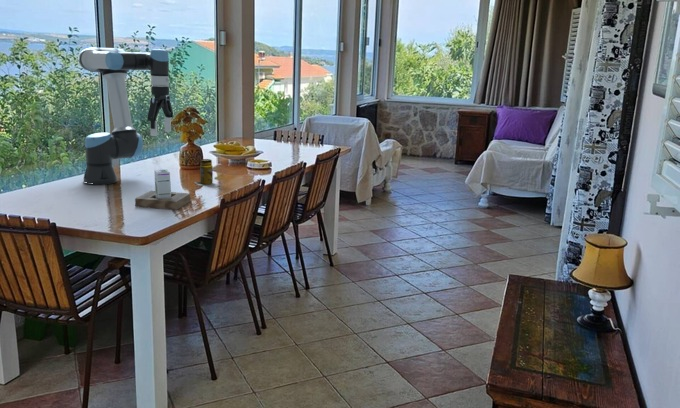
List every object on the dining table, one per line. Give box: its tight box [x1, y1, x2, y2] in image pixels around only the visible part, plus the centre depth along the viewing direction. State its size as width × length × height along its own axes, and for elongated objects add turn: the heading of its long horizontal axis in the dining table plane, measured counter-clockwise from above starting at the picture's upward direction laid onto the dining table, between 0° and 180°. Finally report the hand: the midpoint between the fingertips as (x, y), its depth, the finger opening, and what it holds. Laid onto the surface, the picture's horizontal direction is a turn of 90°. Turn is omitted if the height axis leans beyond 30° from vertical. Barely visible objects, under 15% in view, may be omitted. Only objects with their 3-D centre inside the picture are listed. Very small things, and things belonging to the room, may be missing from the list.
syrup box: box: [154, 169, 172, 199], centre depth 252 cm, size 6×6×14 cm
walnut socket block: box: [134, 190, 191, 211], centre depth 253 cm, size 18×15×4 cm
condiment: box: [194, 158, 215, 186], centre depth 293 cm, size 7×8×12 cm
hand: (161, 133), depth 265 cm, fingers open, 13 cm apart
